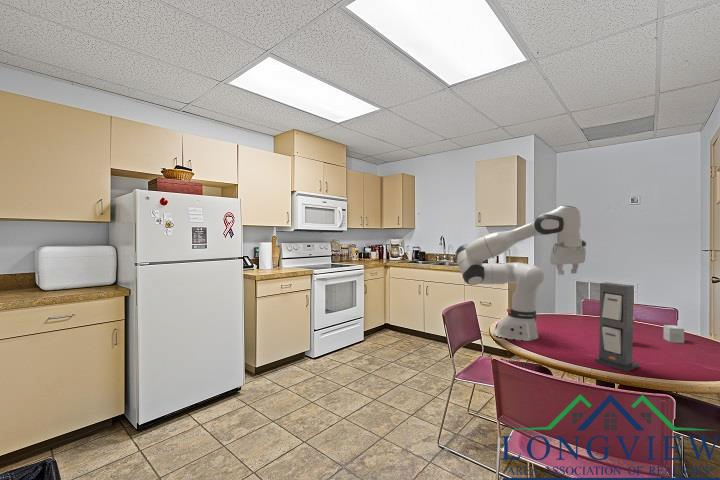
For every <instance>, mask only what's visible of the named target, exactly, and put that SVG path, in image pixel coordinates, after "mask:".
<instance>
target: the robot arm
mask: <svg viewBox="0 0 720 480" xmlns="http://www.w3.org/2000/svg"><path fill="white" fill-rule="evenodd" d="M580 228H581V212H580V209H578V208H577V207H575V206H571V205H559V206H558V207H557V208H555V209H553V210H550V211H548V212H546V213H545V212H544V213H541V214H538V215H537V216H536V217H535V218H534V219H533V220H532V221H531V222H529V223H527V224H524V225H522V226H519V227H518V228H514V229H512V230H507V231H496V232H492V233H488V234H486V235H482V236H481V237H479V238H477V239H475V240H472V242H470V243H467V244H461V246H459V247H458V248H457V249H456V251H455V252H456V255H455V256H456V259H457V260H456V261H457V265H458V268H459V271H460V273H461V275H462V279H463V280H464V282H465V284H467V285H469V286H470V285H471V286H476V285H479V284H481V285H505V284H513V283H514V284H517V285H516V288H515V291H514V292H513V293H512V298H511V299H512V302H511V303H512V305H511V306H512V307H511V308H510V307H508V308H506V312H507V316H505V317H503V318H502V319H500V320H499V321H498V322H497V326H496V328H493V330H492V335H493V334H494V335H496V334H497V336H500V337H502V338H501V339H505V338H507V340H513V339H515V340H516V341H521V340H523V342H530V341H534V340H537V339H539V333H538V330H537V310H536V298H537V297H536V296H537V291H538V289H539V287H540V285H542V283H543V282H544V280H545V273H544V271H543V270H542V268H539V267H538V266H537V265H535V264H530V263H523V262H518V261H517V262H505V263H504V262H503V263H501V262H500V263H499V262H498V263H496V262H495V263H493V262H492V263H486V262H485V261H486V260H489V259H492V258H494V257H497V256H500V255H502V254H503V253H505V252H507V251H508V250H509V249H511V247H513V246H515V244H518V242H521V241H524V240H526V239H529V238H532V237H535V236H549V235H552V234H556V243H554V245H553V246H552V248H551V251H550V256H549V258H550V259H549V263H550V264H551V265H555V267H556V270H557V274H558V275H559V276H564V275H565V270H564V269H563V267H564V265H572V267H571V269H570V274H574V275H575V274H577V273H578V269H579V267H580V264H583V263H585V261H586V256H587V255H586V254H587V253H586V252H587V250H586V248H585V247H587V242H586V241H585V240H583V239H582V238H581V234H580ZM483 262H484V263H483ZM494 335H493V336H494ZM515 340H514V341H515Z"/></svg>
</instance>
